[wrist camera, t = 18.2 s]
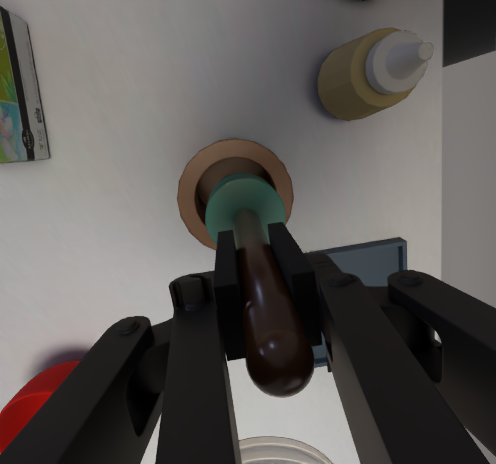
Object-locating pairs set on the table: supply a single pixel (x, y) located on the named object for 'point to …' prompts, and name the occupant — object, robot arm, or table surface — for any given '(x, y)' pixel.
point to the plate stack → (279, 452)
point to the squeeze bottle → (372, 72)
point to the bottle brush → (262, 285)
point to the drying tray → (366, 269)
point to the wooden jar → (220, 166)
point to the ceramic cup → (30, 401)
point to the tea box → (19, 95)
